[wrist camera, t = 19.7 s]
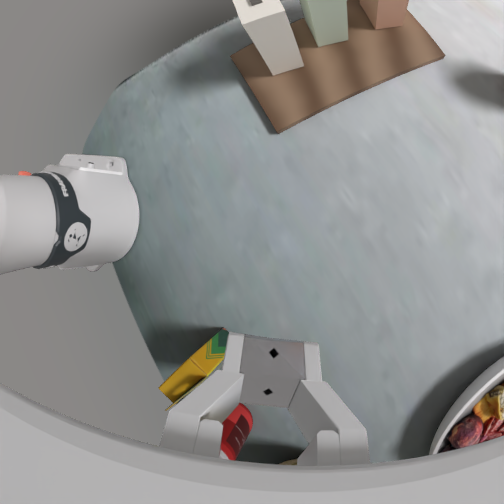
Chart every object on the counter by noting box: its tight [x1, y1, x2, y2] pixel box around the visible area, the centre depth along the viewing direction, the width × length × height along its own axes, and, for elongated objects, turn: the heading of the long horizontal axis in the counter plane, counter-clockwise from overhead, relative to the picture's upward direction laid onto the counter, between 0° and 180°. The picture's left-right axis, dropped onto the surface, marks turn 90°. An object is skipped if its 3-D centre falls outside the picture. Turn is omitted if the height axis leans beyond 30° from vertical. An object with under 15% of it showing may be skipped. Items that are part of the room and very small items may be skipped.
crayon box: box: [159, 328, 229, 410], centre depth 35 cm, size 7×3×12 cm, turn 138°
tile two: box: [299, 0, 348, 47], centre depth 24 cm, size 5×4×12 cm
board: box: [230, 0, 445, 134], centre depth 30 cm, size 25×13×1 cm, turn 118°
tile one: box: [233, 0, 304, 76], centre depth 26 cm, size 5×4×12 cm
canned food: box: [220, 403, 253, 460], centre depth 36 cm, size 8×8×11 cm
